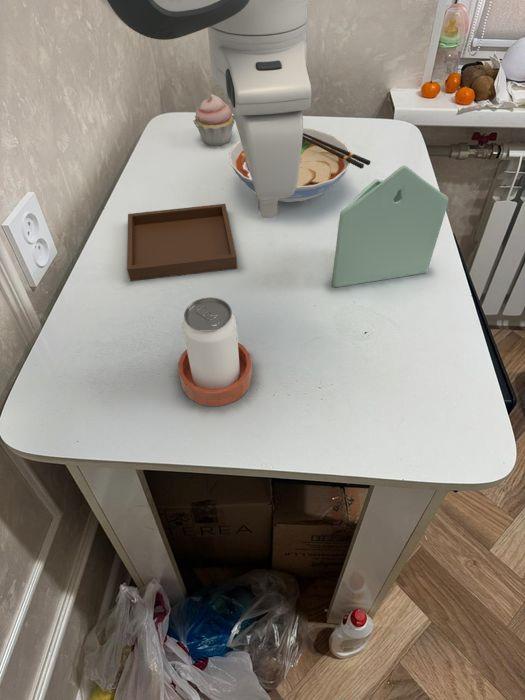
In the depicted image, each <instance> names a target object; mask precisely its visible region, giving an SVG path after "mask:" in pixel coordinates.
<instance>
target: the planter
mask: <svg viewBox="0 0 525 700" xmlns="http://www.w3.org/2000/svg"><path fill="white" fill-rule="evenodd" d="M449 202H450V201H449V197H448V195H446V194H444V193H443V192H442V191H440V190H439V189H438V188H436V187H434V186H433V185H432V184H431V183H429V182H428V181H426V180H425V179H424V178H422V177H421V175H419V174H417V173H416V172H415V171H413V169H411V168H410V167H409V166H408V165H402V166H400V167H399V168H397V169H396V170H395V171H393V172H392V173H391V174H390V175H389V176H387V177H386V178H385V179H384V180H381V179H378V178H377V179H374V180H373V181H371V183H370V184H368V185H367V186H366V187H365V188H364V189H362V191H361V192H360V193H359V194H358V195H357V196H356V197H355V198H354V199H353V200H352V201H351V202H350V203H349V204H348V205H347V206H346V207H344V209H342V210H341V211H340V213H339V218H338V219H339V220H338V225H337V235H336V243H335V251H334V258H333V259H334V261H333V268H332V277H331V288H334V289H335V288H340V287H347V286H353V285H360V284H364V283H365V284H366V283H371V282H377V281H385V280H391V279H396V278H403V277H408V276H415V275H421V274H422V275H423V274H426V273H428V271H429V269H430V268H429V267H430V264H431V261H432V258H433V254H434V251H435V249H436V245H437V241H438V238H439V235H440V231H441V228H442V225H443V221H444V218H445V215H446V212H447V208H448V203H449Z"/></svg>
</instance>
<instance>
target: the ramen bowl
mask: <svg viewBox="0 0 525 700" xmlns="http://www.w3.org/2000/svg"><path fill="white" fill-rule="evenodd" d="M228 154H229V155H228V156H229V160H230V161H229V162H230V166H231V168H232V169H233V171H234V173H235V174H236V176H238V177H239V179H240V181H242V182H243V183H244V184H245V185H246V186H247V187H248V188H249V189H250V190H251V191H252V192H253V193H254V194H256V192H255V188H254V185H253V181H252V178H251V174H250V172H249V171H248V169H247V166H246V161H245V153H244V150H243V146H242V143H241V139H239V140H238V141H236V142H235V143H234V145H233V146H232V148H231V149H230V151H229V153H228ZM350 165H353V166H355V167H357V168H358V169H361V170H362V169H364V167H365V165H366V166H370V165H371V160H370V159H367V158H365V157H362V156H360V155H358V154H355V153H352V152H351V151H350V150H349V148H348V146H347V144H345V143H344V142H343V141H342V140H340V139H339V138H337V136H335V135H333V134H331V133H327V132H324V131H322V130H319V129H315V128H307V127H303V138H302V149H301V158H300V167H299V175H298V182H297V187H296V189H295V191H294V193H293V195H292V196H290V197H287V198H279V199H278V202H283V203H284V202H285V203H293V202H304V201H308V200H310V199H312V198H316V197H319V196H322V195H324V193H326V192H327V191H328V190H329V189H331V188H332V187H334V185H335V184H337V183H338V182H339V181H340V180H341V179H342V177H344V175H345V174H346V172H347V171H348V170H349V166H350Z"/></svg>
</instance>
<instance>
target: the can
mask: <svg viewBox="0 0 525 700" xmlns="http://www.w3.org/2000/svg"><path fill="white" fill-rule="evenodd" d="M183 315H184V317H183V321H182V331H183V338H184V341H185V348H186V349H187V353H188V358H189V363H190V368H191V373H192V378H193V381H194V383H195V385H196V386H197V387H200V388H203V389H206V390H218V389H222V388H225V387H229V386H231V385H232V384H234V383H235V382H237V381H238V380H239V376H240V366H239V352H238V343H239V341H238V339H239V338H238V327H237V320H236V317H235V314H234V312H233V311H232V307H231V306H230V305H229V303H228V302H226V301H225V300H223V299H221V298H218V297H209V296H208V297H202V298H198V299H196V300H194V301H192V302H191V303H190V304H189V305H188V306H187V307H186V308H185V310H184V314H183Z"/></svg>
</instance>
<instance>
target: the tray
mask: <svg viewBox="0 0 525 700" xmlns="http://www.w3.org/2000/svg"><path fill="white" fill-rule="evenodd" d="M234 243H235V242H234V238H233V233H232V229H231V224H230V220H229V214H228V210H227V205H226V203H219V204H218V203H217V204H207V205H199V206H190V207H180V208H172V209H171V208H170V209H162V210H161V209H160V210H152V211H143V212H133V213H127V242H126V245H127V251H126V270H127V274H128V279H129V281H130V282H135V281H142V280H153V279H160V278H168V277H177V276H187V275H193V274H194V275H195V274H203V273H211V272H220V271H227V270H237V269H238V260H237V252H236V249H235V244H234Z"/></svg>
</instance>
